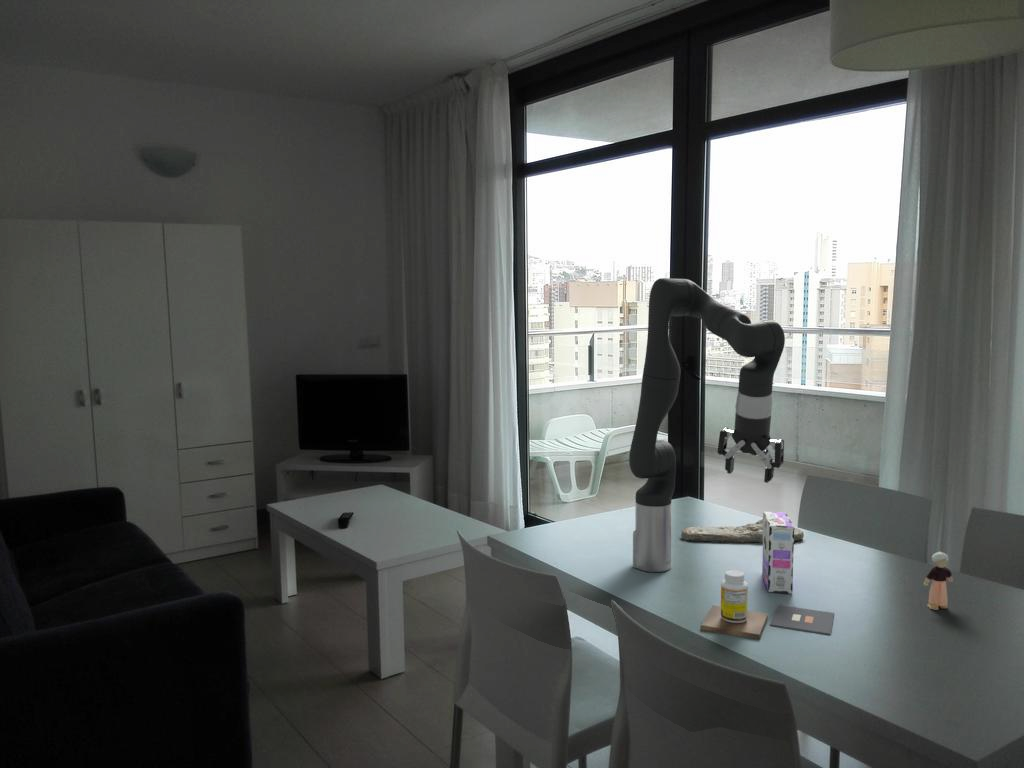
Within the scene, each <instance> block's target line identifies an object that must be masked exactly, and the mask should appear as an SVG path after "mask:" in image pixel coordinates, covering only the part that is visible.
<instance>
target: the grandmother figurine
mask: <svg viewBox="0 0 1024 768" xmlns="http://www.w3.org/2000/svg"><path fill="white" fill-rule="evenodd" d="M931 559H932V562H933V563H934V565H935V566H933V567H932V568H931V569H930V571H928V572H929V573H928V574H927V575H926V577H925V579H924V581H923V584H922V585H923V586H924V587H928V586H929V585H930V584H929V583H931V585H930V589H929V592H928V593H929V594H928V601H927V602H928V604H926V607H927V608H928V607H929V608H928V609H930V610H932V609H933V611H934V610H935V611H938V610H939V609H948V590H947V581H948V582H949V583H952V582H954V578H953V575H952V572H951V571H950V569H949V568H947V565H948V561H949V555H948V554H946V553H945V552H942V551H938V552H935V553H933V554H932V556H931ZM939 607H940V608H939Z"/></svg>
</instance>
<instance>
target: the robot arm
mask: <svg viewBox="0 0 1024 768" xmlns="http://www.w3.org/2000/svg"><path fill="white" fill-rule="evenodd" d="M647 315H648V316H647V317H648V318H647V320H648V321H647V323H648V325H647V340H646V349H645V357H644V365H643V371H642V380H641V386H640V397H639V403H638V410H637V417H636V422H635V427H634V431H633V436H632V440H631V444H630V449H629V454H628V463H629V469H630V471H631V473H632V474H633V476H634V477H636V478H638V479H643V480H644V479H647V480H646V482H645V483H644V485H642V486H641V487H640V488H638V489H637V490H636V492H635V504H634V505H635V513H634V514H635V517H634V518H635V526H634V527H635V530H634V531H633V533H632V568H634V569H635V568H636V569H639V570H641V571H645V572H650V573H661V572H665V571H669V570H670V569H671V568H672V497H673V495H674V493H675V488H676V473H677V472H676V471H677V458H676V453H675V448H674V447H673V445H672V444H671V443H670V442H668V441H667V440H662V439H658V438H657V437H658V433H659V430H660V427H661V425H662V423H663V421H664V419H665V417H667V414H668V413H669V412H670V410H671V409H672V407H673V405H674V403H675V401H676V400H677V397H678V394H679V387H680V380H681V371H682V370H681V366H680V365H681V364H680V363H679V359H678V357H677V354H676V352H675V350H674V348H673V346H672V343H671V340H670V321H671V320H670V319H671V317H693V318H697V319H701V321H702V323H703V326H704V327H705V329H707V331H709V332H710V333H711V334H713V335H715V336H717V337H718V338H721V339H723V340H724V341H726V342H727V344H728V345H729V346H730V347H731V348H732V349H733V351H734V352H735V353H737V355H739V356H742V357H745V358H753V359H752V360H751V361H749V362H747V363H745V364H744V365H742V366H741V368H740V370H739V374H738V375H739V376H738V378H739V379H738V390H737V396H736V403H735V408H734V409H735V417H734V430H731V429H729V427H727V426H725V427H723V429H721V430H719V431H720V432H719V437H718V445H717V450H716V451H717V454H718V455H722V456H723V457H725V462H724V463H725V464H724V465H725V466H724V469H725V471H726V473H727V474H729V475H730V474H732V473H733V472H734V469H735V468H734V467H735V466H734V465H735V454H736V453H737V452H738V451H741V453H743V454H749V455H751V456H758V457H759V459H760V461H762V463H763V464H764V465H765V468H764V478H763V479H764V480H763V482H764V483H767V484H768V483H769V482H771V481H772V480H773V478H774V475H775V473H774V471H775V468H777V469H779V468H780V467H781V466H782V465H783V464H784V462H785V461H784V458H785V456H784V455H785V440H784V439H783V438H779V439H772V438H771V434H770V433H771V421H772V410H773V385H774V376H775V375H774V374H775V372H776V370H777V367H778V364H779V363H780V359H781V357H782V355H783V351H784V348H785V343H786V337H785V332H784V329H783V328H782V326H781V325H780V323H778V321H775V320H765V321H759V322H754V323H752V322H751V319H750V317H749V316H748V315H746V314H745V313H743V312H742V311H740V310H738V309H736V308H733V307H731V306H729V305H727V304H725V303H722V302H721V301H719V300H718V299H716V298H714V297H713V296H711V294H709V293H707V292H706V291H705V290H704V289H703V288H701V286H699V285H698V284H696V283H695V282H694V281H692V280H690V279H688V278H687V279H686V278H667V277H666V278H665V277H664V278H663V277H661V278H658V279H656V280H655V281H654V282H653V284H652V285H651V289H650V292H649V299H648V314H647ZM731 437H732V439H733V441H734V443H735V444H734V446H733V447H731V448H730V449H728V440H729V439H730V438H731ZM657 439H658V440H657ZM769 446H771V447H772V450H773V451H774V457H773V455H772V454H771V453H772V452H771V450H770V449H769Z"/></svg>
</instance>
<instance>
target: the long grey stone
mask: <svg viewBox="0 0 1024 768" xmlns="http://www.w3.org/2000/svg"><path fill="white" fill-rule="evenodd" d="M804 535H805V533H804V531H803V530H802V529H801V528H796V527H794V542H795V541H796V542H797V541H800V540H803V538H804V537H805V536H804ZM680 537H681V539H682V540H683V539H685V540H684V541H686V540H691V541H690V542H693V541H694V542H696V541H697V542H708V541H712V542H711V543H731V542H734V543H736V542H742V543H741V544H743V542H745V543H760V542H761V544H763V543H762V542H763V518H762V519H759V520H757V521H756V522H755V523H747V524H745V525H741V526H688V527H685V528H683V529H681V535H680ZM713 541H715V542H713ZM722 541H723V542H722Z"/></svg>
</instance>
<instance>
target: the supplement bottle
mask: <svg viewBox="0 0 1024 768" xmlns="http://www.w3.org/2000/svg"><path fill="white" fill-rule="evenodd" d="M748 601H749V584H748V583H747V581H745V573H744V572H743V571H740V570H726V571H725V573H724V579H723V580H721V582H720V606H721V617H722V619H723V620H725V621H727V622H730V623H743V622H745V621H746V620H747V616H748V615H747V614H748V611H749V610H748V608H749V607H748V606H749V605H748Z"/></svg>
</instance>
